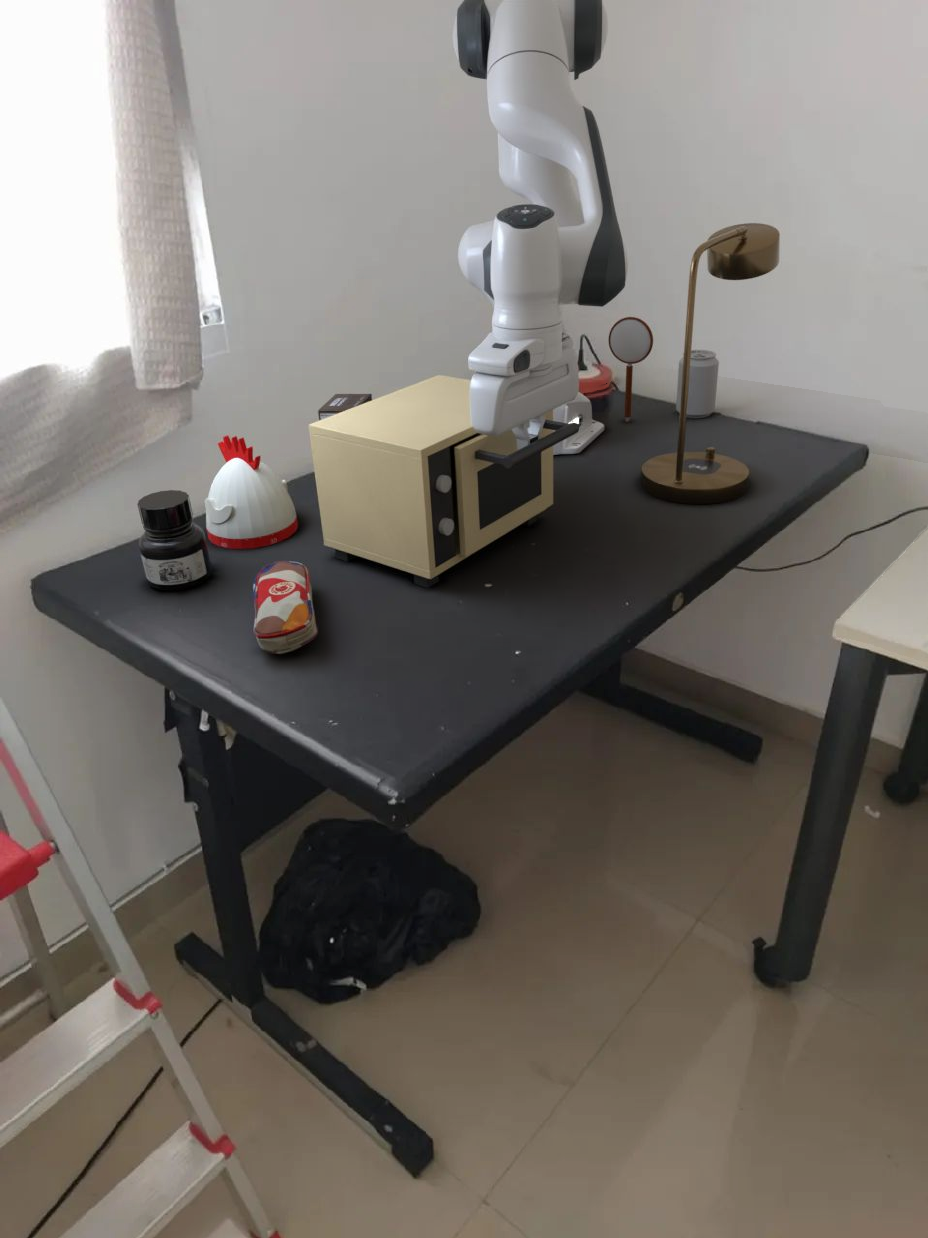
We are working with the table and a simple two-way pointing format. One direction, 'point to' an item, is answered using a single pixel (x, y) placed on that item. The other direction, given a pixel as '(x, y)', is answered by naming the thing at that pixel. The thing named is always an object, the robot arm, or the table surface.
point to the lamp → (689, 472)
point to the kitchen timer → (247, 501)
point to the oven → (395, 477)
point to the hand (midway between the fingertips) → (528, 448)
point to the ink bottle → (172, 542)
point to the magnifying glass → (630, 349)
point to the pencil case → (283, 607)
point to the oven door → (504, 482)
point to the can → (699, 383)
